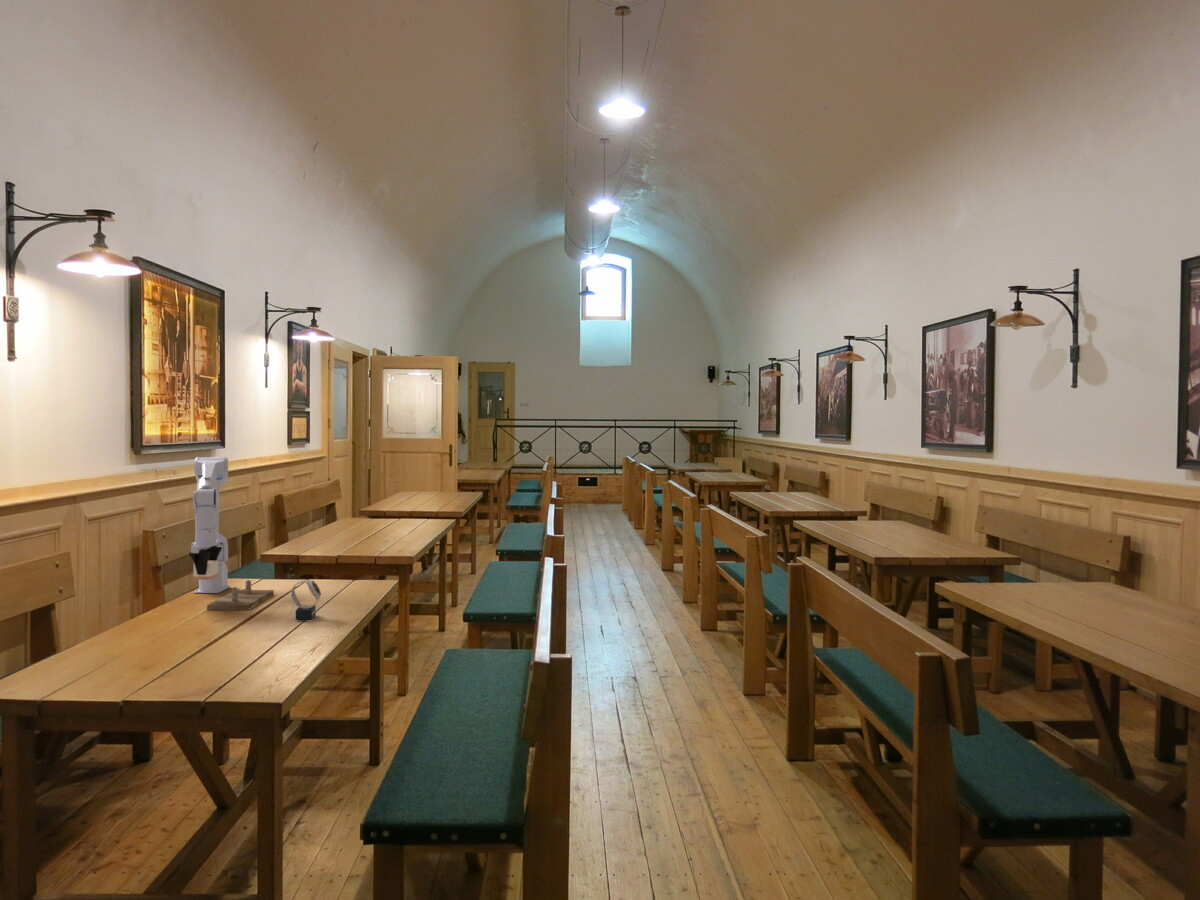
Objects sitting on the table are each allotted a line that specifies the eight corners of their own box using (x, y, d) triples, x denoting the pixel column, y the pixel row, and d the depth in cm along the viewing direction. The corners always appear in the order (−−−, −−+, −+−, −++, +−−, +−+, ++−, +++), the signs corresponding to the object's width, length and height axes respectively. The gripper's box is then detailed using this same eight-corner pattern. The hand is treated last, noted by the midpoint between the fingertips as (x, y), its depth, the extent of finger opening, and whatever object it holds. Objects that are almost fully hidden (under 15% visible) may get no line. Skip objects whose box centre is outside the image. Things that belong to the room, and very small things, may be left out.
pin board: (235, 594, 250) (235, 576, 250) (273, 594, 250) (273, 576, 250) (207, 609, 230) (207, 590, 230) (248, 610, 230) (248, 590, 230)
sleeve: (201, 576, 237) (201, 560, 237) (218, 576, 238) (217, 560, 237) (193, 579, 232) (193, 563, 232) (210, 579, 233) (210, 563, 232)
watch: (318, 620, 220) (318, 582, 220) (289, 621, 219) (289, 582, 218) (322, 615, 226) (322, 578, 225) (293, 616, 224) (293, 578, 224)
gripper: (203, 524, 242) (203, 568, 242) (180, 531, 227) (180, 577, 228) (226, 525, 242) (226, 568, 242) (204, 531, 227) (204, 577, 228)
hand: (206, 572), depth 235 cm, fingers closed on sleeve, 5 cm apart
